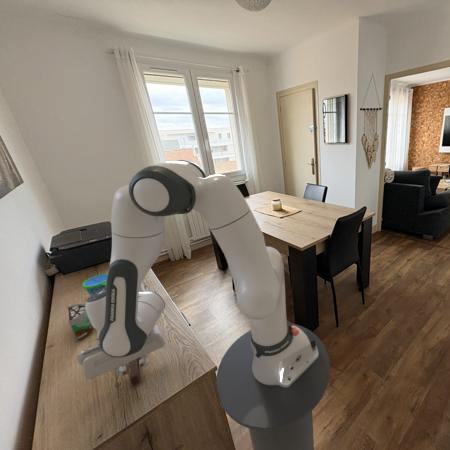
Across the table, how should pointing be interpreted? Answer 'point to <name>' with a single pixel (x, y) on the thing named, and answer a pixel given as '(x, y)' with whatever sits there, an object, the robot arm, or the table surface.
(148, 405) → the table surface
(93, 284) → the snack cup
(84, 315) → the food container
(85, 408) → the table surface
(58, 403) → the table surface
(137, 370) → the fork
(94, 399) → the table surface
